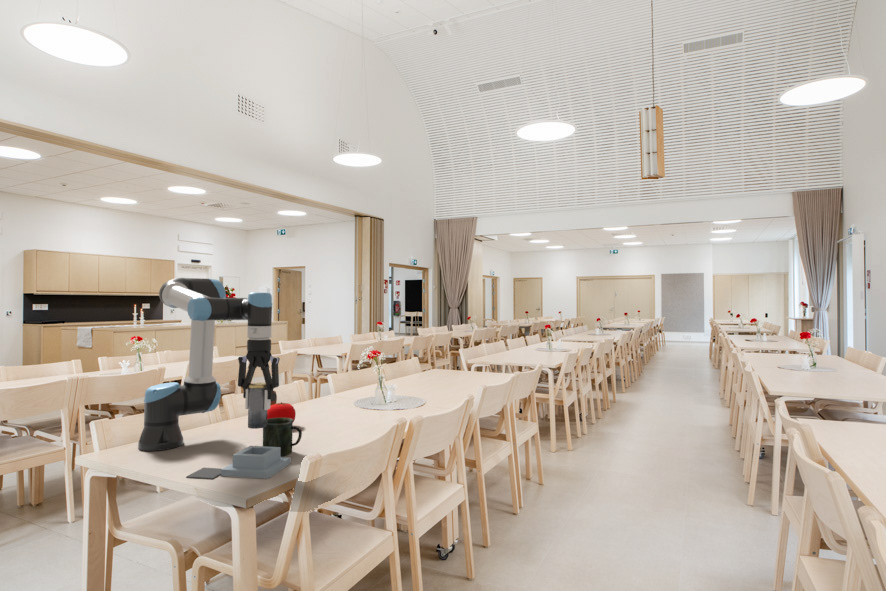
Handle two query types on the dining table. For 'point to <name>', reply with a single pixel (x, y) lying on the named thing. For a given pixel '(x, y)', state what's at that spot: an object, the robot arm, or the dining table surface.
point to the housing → (256, 462)
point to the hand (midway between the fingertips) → (257, 408)
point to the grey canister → (257, 406)
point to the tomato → (281, 411)
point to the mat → (206, 473)
